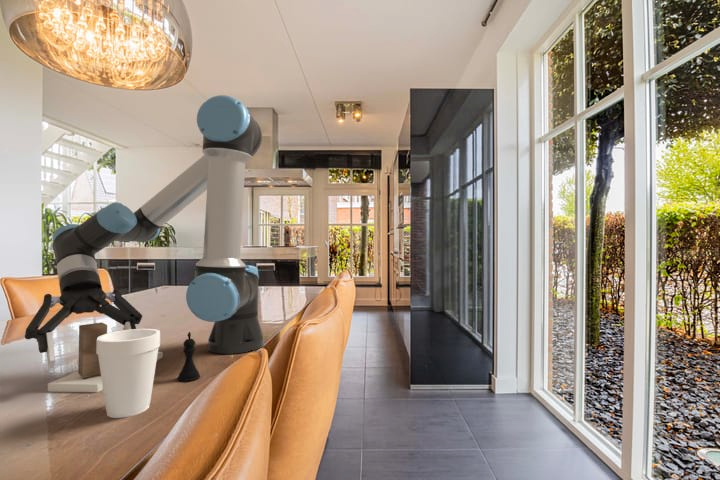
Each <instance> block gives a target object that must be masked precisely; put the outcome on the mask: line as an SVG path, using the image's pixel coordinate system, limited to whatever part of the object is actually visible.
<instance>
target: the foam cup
mask: <svg viewBox="0 0 720 480" xmlns="http://www.w3.org/2000/svg"><path fill="white" fill-rule="evenodd" d="M160 346H161V330H159V329H155V328H136V329H130V330H123V329H122V330H118V331H117V330H115V331H113V332H107V334H104V335H101V336H99V337H98V338H97V347H96V354H98V358H99V365H100V372H101V379H102V385H103V390H102V391H103V398H104V404H105V405H104V406H105V412H106V416H107V417H109V418H112V419H121V418H122V419H123V418H130V417H132V416H133V417H134V416H136V415H137V416H138V415H139V414H142V413H144V412H146V411H147V410H148V409H149V408H150V404H151V401H152V393H153V386H154V380H155V373H156V367H157V362H158V360H157V354H158V352H159V347H160Z"/></svg>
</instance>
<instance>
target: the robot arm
mask: <svg viewBox="0 0 720 480" xmlns="http://www.w3.org/2000/svg"><path fill="white" fill-rule="evenodd" d="M196 123H197V127H198V130H199V131H200V133H201V134H202V136H203V137H202V154H203V155H202V156H201V157H200V158H199V159H197V160H196V161H195V162H194V163H192V164H191V165H190V166H189V167H188V168H186V169H185V170H184V171H183V172H181V173H180V174H179V175H178V176H177V177H176V178H174V179H173V180H172V181H171V182H169V183H168V184H167V185H166V186H165V187H163V188H162V189H161V190H160V191H158V192H157V193H156V194H155V195H154V196H153V197H151V198H150V199H149V200H147V201H146V202H145V203H144V204H142V205H141V206H140V207H139V208H138V209H137V210H135V211H134V212H133V211H132V210H131V209H130V208H129V207H128V206H127V205H124V204H123V203H121V202H116V201H115V202H111V203H110V204H108V205H107V206H105V207H102V208H101V209H99V210H98V211H97V212H96V213H94V214H93V215H92V216H90V217H88V219H85V221H83V222H82V223H80V224H75V223H70V224H67V225H61V226H59V227H58V228H57V229H55V231H54V232H53V233H52V250H53V254H54V258H55V264H56V265H55V266H56V270H57V277H58V278H57V279H58V284H59V285H58V286H59V290H60V291H59V292H60V296H52V294H50V293H46V294H44V296H43V300H42V304H41V306H40V307H39V309H38V311H37V312H36V313H35V315H34V316H33V318H32V320H31V321H30V323H28V326H27V327H26V328H25V332H24V339H25V340H31V339H35V340H36V342H37V346H38V352H39V353H40V354H43V353H46V354H45V355H46V362H47V369H48V370H49V369H54V366H55V363H56V354H55V348H54V339H53V334H52V332H53V331H54V330H55V329H56V328H58V326H60V324H62V322H63V321H64V320H65V319H68V318H69V316H71V315H72V313H73V314H76V315H81V314H86V313H90V314H91V313H94V312H97V313H99V314H100V315H102V314H103V315H105V316H106V317H108V318H110V319H112V320H113V321H115V322H117V323H119V324H121V325H122V326H123V328H122V331H123V330H130V329H137V326H136V325H139V324H140V323H141V321H142V319H143V314H142V313H141V312H140V311H138V310H137V309H136V308H135V307H134V306H133V305H132V304H131V303H130V302H129V301H128V300H127V299H125V298H124V297H123V295H122V294H121V292H120V290H119V289H118V288H115V289H113V290H112V291H111V292H105V291H104V290H103V287H102V283H101V279H100V275H99V274H100V273H99V269H98V266H97V261H96V256H95V255H96V254H97V253H99V252H100V251H102V250H104V248H106V247H108V246H109V245H110V244H112V243H114V242H133V243H134V242H135V243H147V242H151V241H153V240H155V239H156V238H157V237H159V233H160V231H161V229H162V227H163V226H165V225H166V224H167V223H168V222H169V221H171V220H172V219H173V218H174V217H175V216H176V215H178V214H179V213H180V212H182V211H183V210H184V209H185V208H187V206H189V205H190V204H191V203H193V202H194V201H195V200H196V199H197V198H199V197H200V196H201V195H203V193H205V192H206V203H205V218H204V219H205V220H204V233H203V234H204V235H203V250H202V251H203V253H202V258H201V259H199V260H198V261H197V262H195V271H194V279H192V281H190V283H189V285H188V286H187V288H186V293H185V301H186V305H187V307H188V309H189V310H190V312H191V313H192V314H193V315H194V316H195V317H196V318H197V319H199V320H201V321H205V322H211V323H213V325H212V328H211V331H210V334H209V337H208V340H207V351H208V352H210V353H213V354H214V353H215V354H224V355H225V354H226V355H227V354H228V355H231V354H240V353H247V352H248V351H249V352H253V351H256V350H258V349H261V348H262V347H263V346H264V343H265V336H264V333H263V330H262V326H261V323H260V321H259V310H258V309H259V279H260V276H259V269H258V267H257V266H255V265H250V264H245V263H244V262H243V261H242V259H241V247H242V246H241V242H242V229H243V228H242V227H243V226H242V225H243V212H244V211H243V208H244V192H245V191H244V189H245V176H246V175H245V174H246V164H247V163H249V162H250V161H251V160H252V159H253V157H254V156H255V155H256V153H257V152H258V151H259V149H260V147H261V145H262V141H263V134H262V129H261V127H260V124H259V123H258V122H257V120H256V119H255V118H254V117H253V115H252V114H251V112H250V111H249V110H248V108H247V106H246V105H245V104H244V103H242V102H241V101H239V100H238V99H237V98H236V97H234V96H231V95H224V94H223V95H221V94H220V95H214V96H212V97H209V99H206V101H203V103H202V104H201V105H200V107H199V109H198V110H197V114H196ZM108 300H109V301H108ZM109 302H110V303H113V304H114V305H112V304H110V303H109ZM57 304H59V305H61V306H62V308H60V309H59V310H58V311H57V313H55V314H54V315H53V316H52V317H51V318H50V319H49V320H47V322H45V323H44V325H42V323H43V322H44V320H45V319H46V318H47V317H46V316H47V315H48V314H49V312H50V310H51V309H52V308H53V307H55V306H56V305H57ZM50 308H51V309H50ZM41 325H42V326H41ZM40 326H41V327H40ZM251 350H252V351H251Z"/></svg>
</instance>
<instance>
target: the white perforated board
mask: <svg viewBox="0 0 720 480" xmlns="http://www.w3.org/2000/svg"><path fill="white" fill-rule="evenodd" d="M163 356H164V355H163V351H158V354H157V361H159V360H161V359H163ZM101 391H103V385H102V379H101V374H99V375H95V376H90V377H86V378H82V377H81V376H80V375H79V374H78V371H75V372H72V373H70V374H67V375H66V376H63V377H61V378H58V379H55V380H53V381H51V382H49V383H47V392H52V393H53V392H54V393H55V392H56V393H57V392H58V393H63V392H64V393H99V392H101Z"/></svg>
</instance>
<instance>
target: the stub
mask: <svg viewBox="0 0 720 480" xmlns="http://www.w3.org/2000/svg"><path fill="white" fill-rule="evenodd" d="M78 330H79V331H78V363H77V364H78V369H77V370H78V374H79V375H80V376H81V377H82V378H86V377H90V376H95V375H99V374H101V372H100V365H99V358H98V354H96V347H97V338H98V337H99V336H101V335H104V334H107V333H108V325H107V324H106V323H104V322H95V323H87V324H80V325H78Z"/></svg>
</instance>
